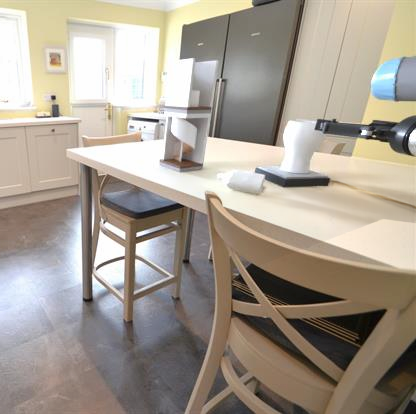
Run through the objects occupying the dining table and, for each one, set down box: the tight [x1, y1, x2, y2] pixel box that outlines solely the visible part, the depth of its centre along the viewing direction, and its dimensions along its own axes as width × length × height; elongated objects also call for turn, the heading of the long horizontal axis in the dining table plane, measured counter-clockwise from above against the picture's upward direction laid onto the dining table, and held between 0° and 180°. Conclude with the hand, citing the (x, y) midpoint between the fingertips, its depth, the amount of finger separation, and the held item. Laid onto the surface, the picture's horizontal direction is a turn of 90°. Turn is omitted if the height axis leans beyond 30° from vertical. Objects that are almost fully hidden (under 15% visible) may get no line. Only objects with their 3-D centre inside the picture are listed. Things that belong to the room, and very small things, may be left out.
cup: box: [280, 119, 327, 174], centre depth 87 cm, size 11×11×15 cm
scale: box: [254, 165, 331, 188], centre depth 91 cm, size 16×14×3 cm
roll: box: [216, 169, 266, 196], centre depth 80 cm, size 6×12×6 cm, turn 55°
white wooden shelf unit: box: [158, 57, 220, 173], centre depth 98 cm, size 11×11×35 cm
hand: (344, 124), depth 72 cm, fingers open, 13 cm apart
